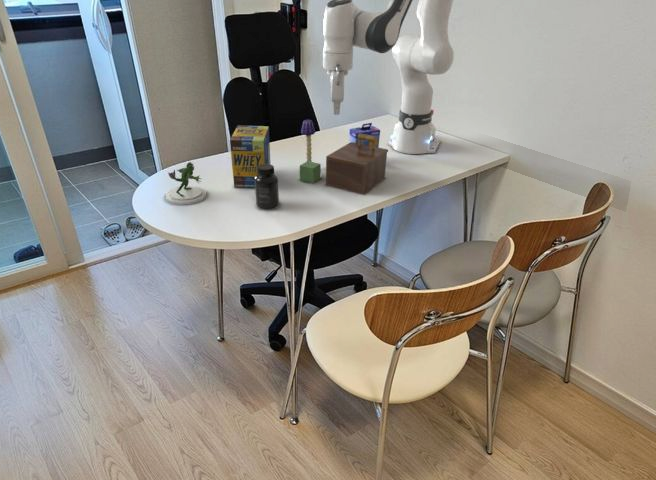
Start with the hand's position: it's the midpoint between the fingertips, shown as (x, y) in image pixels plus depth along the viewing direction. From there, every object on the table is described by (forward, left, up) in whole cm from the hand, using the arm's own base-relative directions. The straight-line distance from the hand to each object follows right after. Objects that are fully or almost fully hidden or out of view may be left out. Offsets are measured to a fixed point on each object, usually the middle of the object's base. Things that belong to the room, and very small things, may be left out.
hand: (336, 110), depth 153 cm
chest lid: (-1, +8, -13) cm, 15 cm away
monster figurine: (+37, -31, -23) cm, 54 cm away
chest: (-1, +8, -22) cm, 23 cm away
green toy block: (+5, -6, -22) cm, 24 cm away
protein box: (+15, -22, -23) cm, 35 cm away
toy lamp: (-2, -11, -22) cm, 25 cm away
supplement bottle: (+29, -6, -23) cm, 37 cm away
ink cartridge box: (-18, +2, -23) cm, 29 cm away
